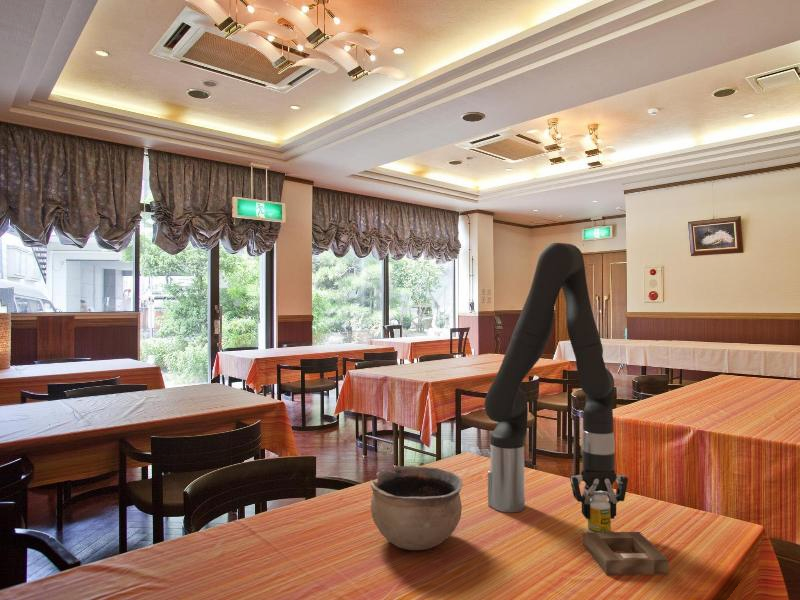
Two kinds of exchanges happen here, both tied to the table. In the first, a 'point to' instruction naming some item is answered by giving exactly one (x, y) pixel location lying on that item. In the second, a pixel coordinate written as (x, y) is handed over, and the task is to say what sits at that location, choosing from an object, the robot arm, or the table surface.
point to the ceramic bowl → (416, 505)
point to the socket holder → (635, 563)
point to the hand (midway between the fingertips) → (599, 517)
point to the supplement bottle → (599, 513)
